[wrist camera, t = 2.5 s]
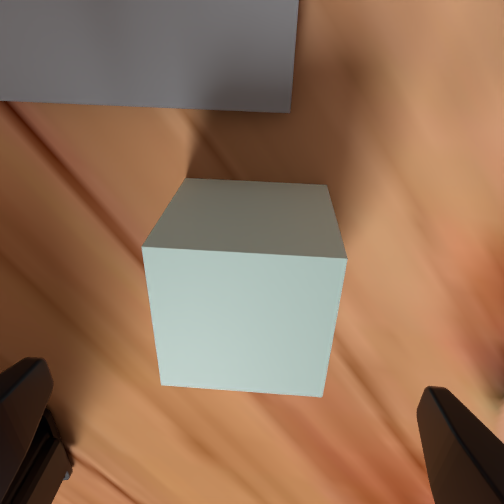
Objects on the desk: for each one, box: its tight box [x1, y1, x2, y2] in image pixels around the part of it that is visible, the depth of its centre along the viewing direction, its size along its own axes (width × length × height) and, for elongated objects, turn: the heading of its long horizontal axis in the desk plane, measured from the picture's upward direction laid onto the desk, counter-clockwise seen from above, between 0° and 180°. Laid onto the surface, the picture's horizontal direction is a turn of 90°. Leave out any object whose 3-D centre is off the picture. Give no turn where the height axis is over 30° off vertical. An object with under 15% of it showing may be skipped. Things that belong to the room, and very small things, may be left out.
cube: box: [142, 178, 348, 397], centre depth 13 cm, size 5×5×5 cm
